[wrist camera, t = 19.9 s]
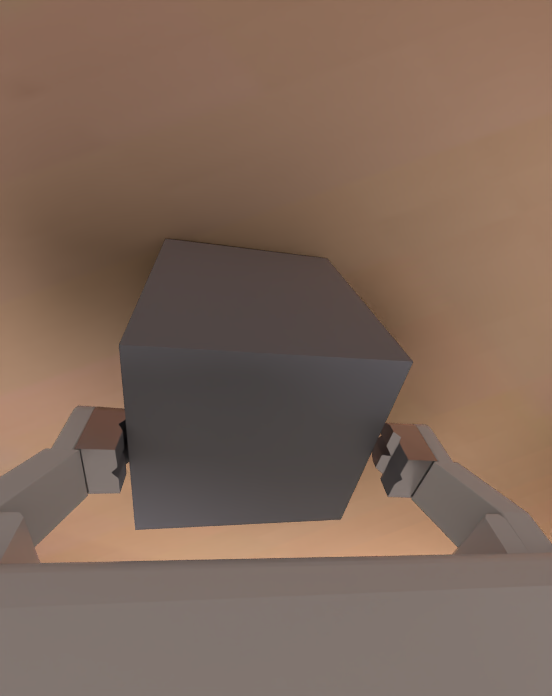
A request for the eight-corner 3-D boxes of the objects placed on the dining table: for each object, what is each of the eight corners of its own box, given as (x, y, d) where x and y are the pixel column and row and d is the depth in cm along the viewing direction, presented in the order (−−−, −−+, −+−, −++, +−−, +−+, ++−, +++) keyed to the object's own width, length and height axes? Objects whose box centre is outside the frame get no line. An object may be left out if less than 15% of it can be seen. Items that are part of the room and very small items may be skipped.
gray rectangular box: (327, 258, 17) (413, 361, 9) (296, 380, 21) (340, 519, 13) (165, 238, 15) (118, 344, 8) (165, 374, 19) (135, 530, 12)
